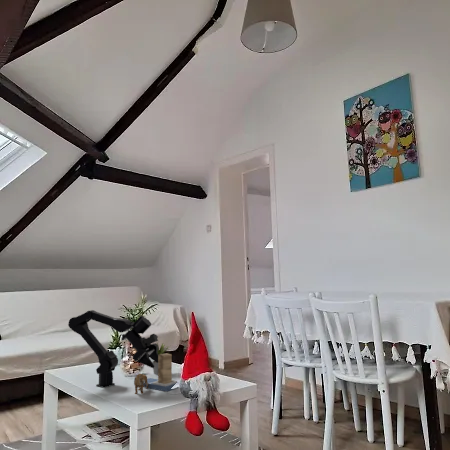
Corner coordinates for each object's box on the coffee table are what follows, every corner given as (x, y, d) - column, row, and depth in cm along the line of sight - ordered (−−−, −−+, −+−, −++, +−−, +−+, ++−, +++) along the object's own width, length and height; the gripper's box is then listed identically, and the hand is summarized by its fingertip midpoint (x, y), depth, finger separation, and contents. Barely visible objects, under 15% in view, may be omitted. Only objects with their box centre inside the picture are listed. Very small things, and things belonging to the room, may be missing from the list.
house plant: (170, 376, 210) (170, 344, 213) (143, 377, 210) (144, 344, 212) (173, 370, 224) (173, 340, 227) (148, 371, 224) (149, 341, 227)
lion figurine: (145, 395, 175) (145, 374, 176) (132, 396, 175) (133, 374, 176) (149, 387, 189) (149, 367, 191) (137, 387, 189) (138, 367, 190)
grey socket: (152, 384, 187) (152, 382, 187) (164, 380, 194) (164, 378, 194) (165, 386, 182) (165, 384, 183) (177, 382, 189) (177, 380, 189)
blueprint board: (137, 386, 192) (137, 381, 192) (149, 382, 199) (149, 377, 199) (166, 391, 181) (166, 386, 182) (179, 387, 188) (179, 382, 189)
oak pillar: (158, 383, 188) (158, 354, 190) (166, 381, 191) (166, 353, 193) (163, 385, 185) (163, 355, 187) (171, 383, 188) (171, 354, 190)
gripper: (139, 331, 184) (161, 356, 180) (155, 326, 202) (175, 350, 199) (123, 348, 185) (145, 374, 181) (140, 342, 203) (160, 365, 199)
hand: (157, 365), depth 190 cm, fingers open, 9 cm apart
